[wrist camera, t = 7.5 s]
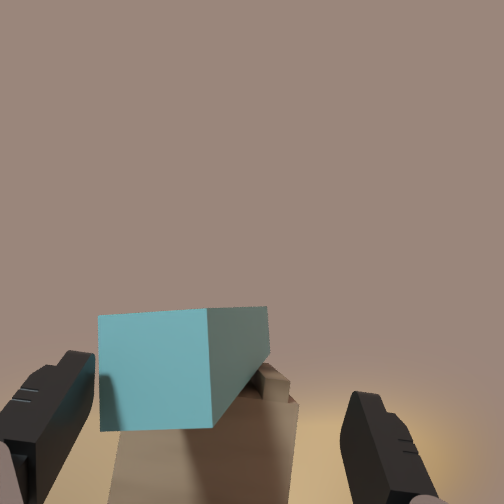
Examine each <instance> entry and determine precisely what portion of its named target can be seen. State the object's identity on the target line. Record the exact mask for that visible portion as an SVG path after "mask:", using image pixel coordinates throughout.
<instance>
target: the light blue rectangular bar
mask: <svg viewBox="0 0 504 504" xmlns="http://www.w3.org/2000/svg"><path fill="white" fill-rule="evenodd" d="M98 341H99V398H100V432H104V431H135V430H165V429H195V428H213V427H214V426H215V424H216V423H217V422H218V420H219V419H220V418H221V416H222V415H223V414H224V413H225V411H226V410H227V409H228V407H229V406H230V405H231V403H232V402H233V401H234V400H235V398H236V397H237V396H238V394H239V393H240V392H241V390H242V389H243V388H244V387H245V385H246V384H247V383H248V381H249V380H250V379H251V377H252V376H253V375H254V374H255V372H256V371H257V370H258V368H259V367H260V366H261V364H262V363H263V362H264V361H265V359H266V358H267V357H268V355H269V354H270V343H269V328H268V313H267V307H266V306H265V307H235V308H205V309H190V310H176V311H160V312H146V313H131V314H116V315H101V316H98Z"/></svg>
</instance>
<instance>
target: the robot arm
mask: <svg viewBox="0 0 504 504" xmlns="http://www.w3.org/2000/svg"><path fill="white" fill-rule="evenodd" d="M94 379H95V355H94V354H93V353H85V352H78V351H71V350H69V351H67V352H66V354H65V355H64V356H63V358H62V359H61V360H60V362H59V363H58V364H57V366H53V365H45V366H43V367H42V368H40V369H39V370H37V371H35V372H34V373H32V374H31V375H30V376H29V377H28V379H27V380H26V381H25V382H24V383H23V385H22V386H21V388H20V390H18V391H17V392H16V393H15V395H14V396H13V397H12V400H10V401H9V402H8V403H7V405H6V406H5V407H4V409H3V410H2V411H1V412H0V504H43V503H44V501H45V499H46V497H47V495H48V493H49V491H50V489H51V488H52V485H53V484H54V482H55V480H56V478H57V476H58V474H59V472H60V470H61V468H62V466H63V464H64V462H65V460H66V458H67V457H68V455H69V453H70V451H71V449H72V447H73V445H74V443H75V441H76V439H77V437H78V435H79V433H80V431H81V429H82V427H83V425H84V424H85V422H86V420H87V418H88V416H89V413H90V410H91V407H92V403H93V397H94ZM340 450H341V455H342V459H343V463H344V467H345V471H346V476H347V480H348V484H349V488H350V492H351V496H352V501H353V504H448V503H446V502H445V501H443V500H441V499H439V497H438V495H437V492H436V490H435V488H434V486H433V483H432V481H431V479H430V477H429V475H428V473H427V471H426V468H425V466H424V464H423V461H422V459H421V457H420V456H419V455H418V451H417V448H416V446H415V444H413V439H412V437H411V435H410V433H409V431H408V428H407V426H406V425H405V424H404V423H403V422H402V421H401V420H400V419H399V418H398V417H397V416H396V414H394V413H388V412H386V409H385V407H384V405H383V402H382V400H381V397H380V396H379V395H378V394H373V393H366V392H358V391H354V392H353V393H352V395H351V398H350V401H349V404H348V408H347V411H346V415H345V418H344V421H343V425H342V428H341V433H340Z"/></svg>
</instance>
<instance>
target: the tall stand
mask: <svg viewBox="0 0 504 504" xmlns="http://www.w3.org/2000/svg"><path fill="white" fill-rule="evenodd" d="M289 388H290V381H289V380H288V379H287V378H285V377H284V376H283V375H282V374H281V373H279V372H278V371H277V370H275V369H274V368H273V367H272V366H271V365H269V364H268V363H262V364H261V366H260V367H259V368H258V370H257V371H256V372H255V374H254V375H253V376H252V377H251V379H250V380H249V381H248V383H247V384H246V385H245V387H244V388H243V389H242V390H241V392H240V393H239V394H238V396H237V397H236V398H235V400H234V401H233V402H232V403H231V405H230V406H229V407H228V409H227V410H226V411H225V413H224V414H223V415H222V416H221V418H220V419H219V420H218V422H217V423H216V424H215V426H214V427H213V428H195V429H165V430H135V431H121V433H120V438H119V443H118V448H117V454H116V460H115V465H114V471H113V476H112V481H111V487H110V492H109V498H108V503H107V504H288V498H289V489H290V480H291V472H292V463H293V454H294V446H295V436H296V427H297V419H298V411H299V404H298V403H297V402H296V401H295V400H294V399H293V398H292V397H291V396H290V395H289Z"/></svg>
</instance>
